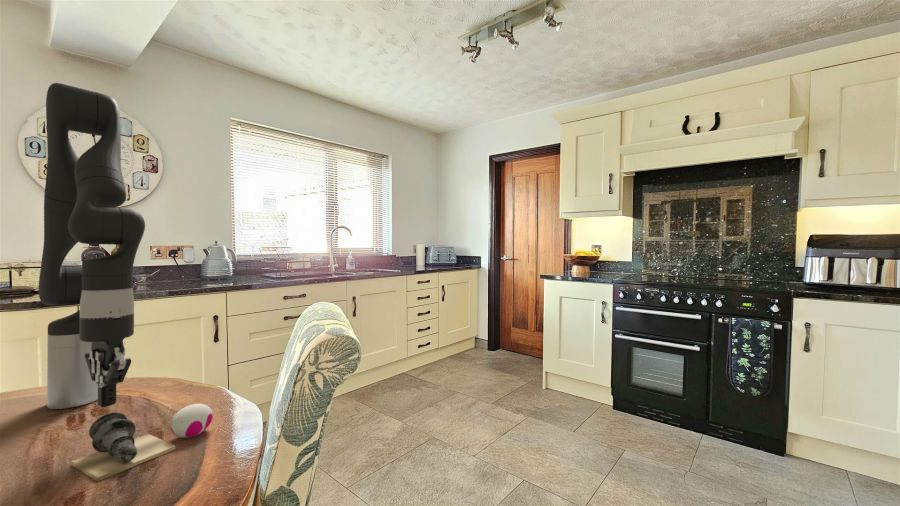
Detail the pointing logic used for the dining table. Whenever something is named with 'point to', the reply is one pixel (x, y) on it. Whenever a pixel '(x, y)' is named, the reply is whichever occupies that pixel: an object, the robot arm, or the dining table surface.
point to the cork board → (107, 465)
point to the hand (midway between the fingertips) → (107, 405)
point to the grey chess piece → (114, 436)
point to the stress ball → (191, 420)
